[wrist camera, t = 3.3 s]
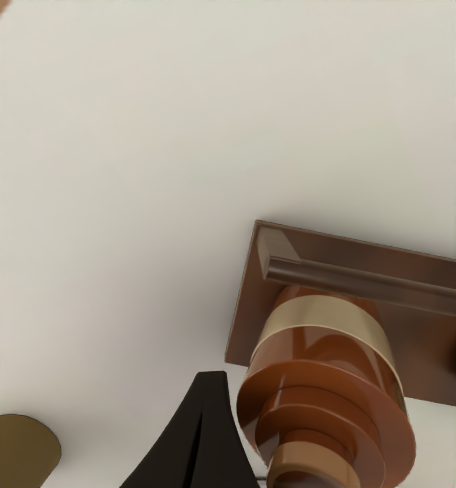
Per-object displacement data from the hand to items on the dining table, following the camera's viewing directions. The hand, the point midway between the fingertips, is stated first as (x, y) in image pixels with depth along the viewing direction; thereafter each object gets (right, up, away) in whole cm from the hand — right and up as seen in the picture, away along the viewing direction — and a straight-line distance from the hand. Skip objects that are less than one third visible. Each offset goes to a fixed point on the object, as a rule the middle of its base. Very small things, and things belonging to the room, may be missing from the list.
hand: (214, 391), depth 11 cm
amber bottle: (+6, +2, +4) cm, 7 cm away
